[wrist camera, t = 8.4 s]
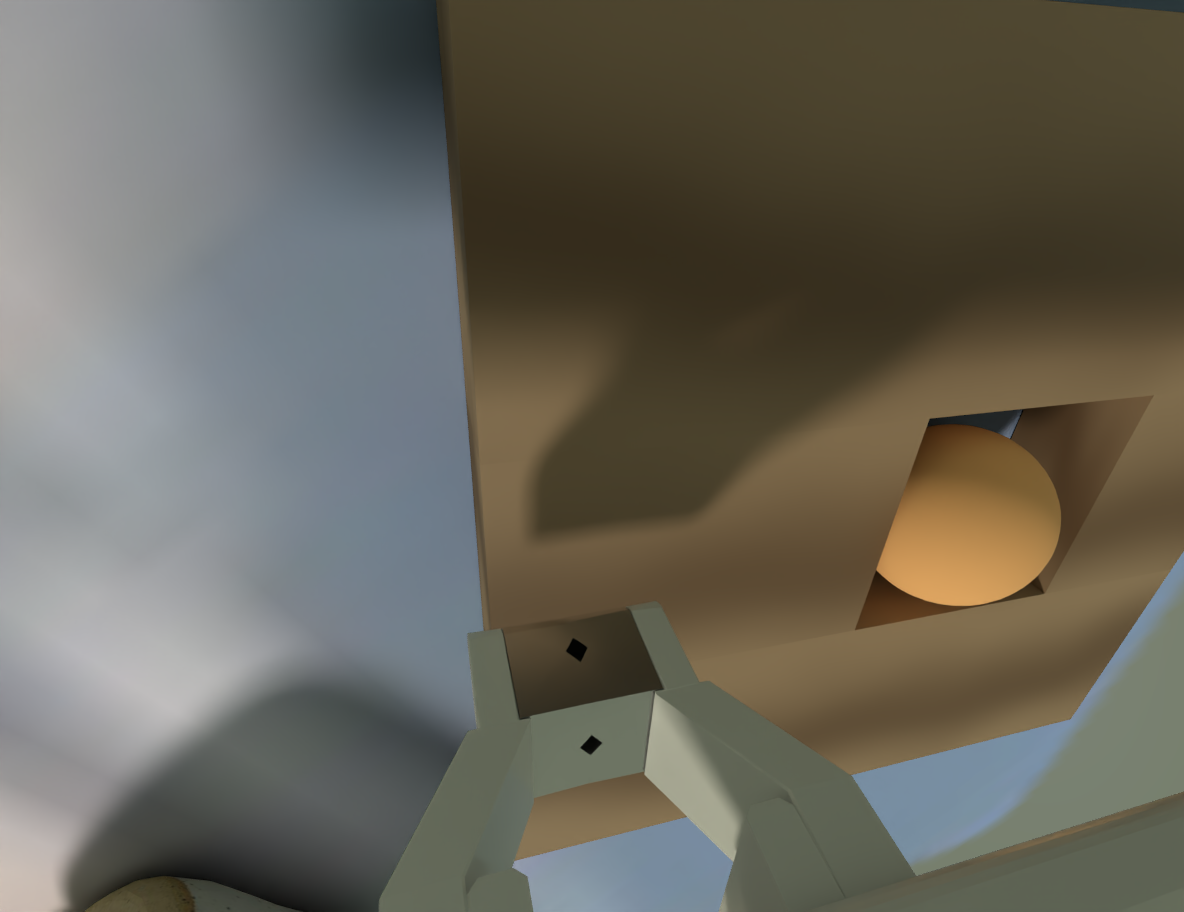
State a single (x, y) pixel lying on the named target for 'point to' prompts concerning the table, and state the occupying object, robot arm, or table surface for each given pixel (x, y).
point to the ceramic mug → (181, 898)
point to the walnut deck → (816, 340)
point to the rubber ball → (971, 519)
